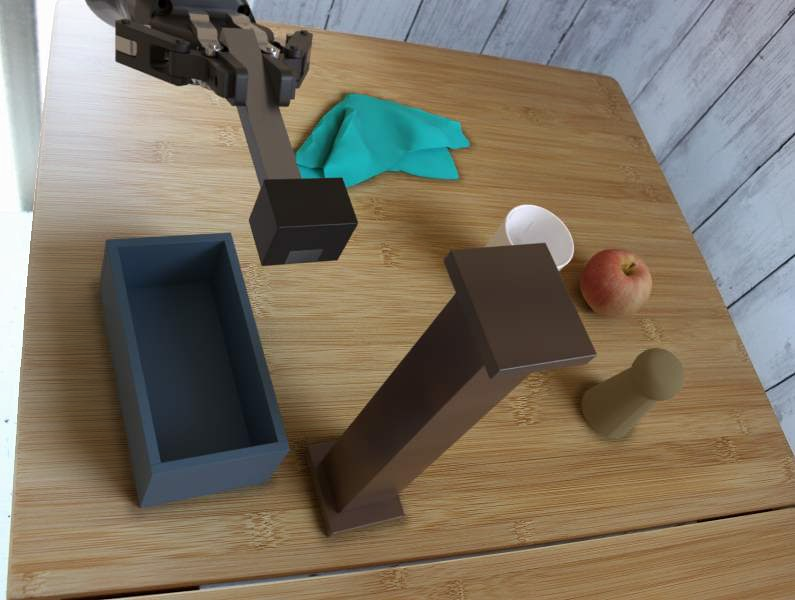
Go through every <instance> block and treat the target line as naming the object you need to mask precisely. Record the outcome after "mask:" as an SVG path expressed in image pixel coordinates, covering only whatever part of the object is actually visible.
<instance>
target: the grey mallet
mask: <svg viewBox="0 0 795 600" xmlns="http://www.w3.org/2000/svg"><path fill="white" fill-rule="evenodd" d="M219 42H220V44H221V45H222V46H223V52H229V53H231V54H232V55H233V56H234V57H235V58H236V59H237V60H238V61H239V62H241V63H242V64H243V65H244V66H245V67H246V68H247V71H248V87H247V100H246V105H245V106H235V107H236V110H237V114H238V117H239V120H240V124H241V128H242V131H243V134H244V137H245V140H246V141H245V142H246V144H247V147H248V150H249V154H250V158H251V161H252V165H253V167H254V168H253V169H254V171H255V174H256V178H257V181H258V184H259V192H258V194H257V196H256V199H255V202H254V205H253V207H252V210H251V212H250V215H249V218H248V224H249V227H250V231H251V234H252V237H253V241H254V244H255V248H256V251H257V255H258V259H259V261H260V266H261V267H271V266H283V265H297V264H311V263H323V262H336V261H338V260H340V259H339V258H340V257H341V255H342V253H343V252H344V249H346V247H347V245H348V243H349V241H350V239H351V237H352V236H353V234H354V232H355V231H356V229H357V227H358V225H359V221H358V217H357V214H356V212H355V209H354V206H353V204H352V200H351V197H350V195H349V192H348V190H347V188H346V186H345V183H344V180H343V178H342V177H338V178H302V177H301V174H300V171H299V167H298V164H297V161H296V158H295V152H294V149H293V146H292V142H291V139H290V137H289V134H288V131H287V130H288V129H287V128H286V125H285V122H284V118H283V115H282V113H281V109H280V107H279V106H278V103H277V100H276V97H275V94H274V91H273V88H272V85H271V81H270V78H269V75H268V72H267V69H266V66H265V63H264V60H263V57H262V53H261V50H260V47H259V44H258V41H257V38H256V35H255V31H254V30H253V29H237V28H222V31H221V35H220V38H219Z"/></svg>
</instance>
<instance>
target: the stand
mask: <svg viewBox="0 0 795 600" xmlns="http://www.w3.org/2000/svg"><path fill="white" fill-rule="evenodd" d="M443 264H444V267H445V269H446V272H447V274H448V277H449V280H450V282H451V284H452V287H453V290H454V292H455V293H454V294H453V296H452V297H451V298H450V300H448V301H447V303H446V304H445V306H444V307H443V308H442V310H440V312H439V313H438V314H437V316H435V318H434V319H433V321H432V322H431V323H430V324H429V325H428V327H427V328H426V329H425V330H424V331H423V333H422V335H420V336H419V338H418V339H417V341H416V342H415V343H414V344H413V345H412V347H411V348H410V349H409V351H408V352H407V353H406V354H405V355H404V357H403V358H402V359H401V360H400V362H399V363H398V364H397V366H396V367H395V368H394V369H393V371H392V372H391V373H390V375H388V377H386V379H385V381H384V382H383V383H382V384H381V386H379V388H378V389H377V391H376V392H375V393H374V394H373V395H372V397H371V398H370V400H369V401H367V403H366V404H365V406H363V408H362V409H361V410H360V411H359V413H358V414H357V416H356V417H354V419H353V421H352V422H351V423H350V424H349V426H348V427H347V428H346V429H345V430H344V432H343V433H342V434H341V436H340V437H339V438H338V439H335V440H330V441H329V440H328V441H324V442H318V443H313V444H307V445H306V446H305V447H304V449H303V452H304V456H305V459H306V463H307V467H308V471H309V474H310V477H311V482H312V485H313V488H314V492H315V495H316V499H317V502H318V507H319V510H320V514H321V516H322V521H323V525H324V528H325V531H326V535H327V538H329V539H330V538H332V537H337V536H343V535H345V534H346V535H347V534H349V533H354V532H358V531H362V530H366V529H371V528H374V527H378V526H383V525H386V524H391V523H395V522H399V521H401V520H402V519H403V518H405V517H406V514H405V511H404V508H403V505H402V502H401V499H400V496H399V494H401V492H403V491H404V490H405V489H407V487H408V486H410V485H411V483H413V482H414V481H415V480H416V479H417V478H418V477H419V476H421V474H422V473H424V472H425V471H426V470H427V469H428V468H429V467H430V466H431V465H432V464H434V463H435V462H436V461H437V460H438V459H439V458H440V457H441V456H442V455H443V454H444V453H446V452H447V451H448V450H449V449H450V448H451V447H452V446H454V444H456V443H457V442H458V441H459V440H460V439H461V438H462V437H463V436H464V435H465V434H466V433H468V432H469V431H470V430H472V428H473V427H474V426H475V425H476V424H477V423H478V422H480V421H481V420H482V419H483V418H484V417H485V416H486V415H487V414H488V413H489V412H491V411H492V410H493V409H494V408H495V407H496V406H497V405H499V403H500V402H501V401H503V400H504V399H505V398H506V397H507V396H509V394H511V392H512V391H514V390H515V389H516V388H517V387H518V386H519V385H520V384H522V382H524V381H525V380H526V379H527V378H528V377H529V376H531V374H535V373H541V372H545V371H552V370H560V369H565V368H570V367H577V366H584V365H588V364H589V363H590V362H591V361H593V360H594V359H595V358H596V357H597V356H598V354H597V351H596V349H595V347H594V344H593V342H592V340H591V338H590V336H589V333H588V331H587V329H586V327H585V325H584V323H583V320H582V319H581V316H580V314H579V311H578V310H577V308H576V305H575V303H574V301H573V299H572V296H571V294H570V293H569V291H568V288H567V286H566V283H565V281H564V280H563V276H562V275H561V273H560V271H558V268H557V266H556V264H555V262H554V260H553V258H552V255H551V253H550V251H549V249H548V247H547V245H546V243H534V244H521V245H508V246H494V247H485V246H484V247H483V246H481V247H469V248H467V247H466V248H456V249H450V250H449V251H448V253H447V254H446V256H444V258H443Z"/></svg>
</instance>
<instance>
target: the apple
mask: <svg viewBox="0 0 795 600" xmlns="http://www.w3.org/2000/svg"><path fill="white" fill-rule="evenodd" d="M579 282H580V283H579V285H580V286H579V287H580V292H581V295H582V297H583V298H584V300H585V303H587V305H588V306H589V308H591V310H592V311H593V312H594V313H596V314H597V315H599V316H601V317H604V318H608V319H613V320H615V319H616V320H617V319H618V320H619V319H620V320H621V319H624V318H625V319H626V318H628V317H631V316H633V315H635V314H636V313H637V312H639V311H640V310H642V308H643V307H644V306H645V305H646V304H647V302H648V300H649V298H650V296H651V293H652V289H653V279H652V275H651V271H650V270H649V268H648V266H647V265H646V263H645V262H644V261H643V259H642V258H641V257H640V256H639V255H637V254H636V253H634V252H633V251H631V250H629V249H628V250H627V249H622V248H608V249H603V250H601V251H598V252H596V253H595V254H593V256H591V258H590V259H589V260H588V261H587V263H586V264H585V266H584V267H583V269H582V272H581V274H580V280H579Z"/></svg>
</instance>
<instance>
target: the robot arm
mask: <svg viewBox="0 0 795 600" xmlns="http://www.w3.org/2000/svg"><path fill="white" fill-rule="evenodd" d="M84 1H85V4H86V6H87V7H88V8H89V10H90V11H91V12H92V13H93V14H94V15H95V16H96V17H97V18H98V19H99V20H101V21H102V22H103V23H105V24H107V25H109V26H110V27H112V28H114V33H115V34H114V46H115V49H114V54H115V55H114V58H115V59H114V61H115V63H118V64H120V65H123V66H125V67H127V68H131V69H133V70H135V71H138V72H140V73H143V74H145V75H148V76H150V77H152V78H155V79H158V80H160V81H163V82H165V83H168V84H170V85H173V86H176V87H183V86H189V85H191V86H199V87H201V88H203V89H206V90H208V91H213V92H214V94H215V95H216V96H217V97H220V98H222V99H225V100H226V102H228V103H229V105H230V106H231V107H236V106H245V105H246V100H247V87H248V71H247V68H246V67H245V66H244V65H243V64H242V63H241V62H239V61H238V60H237V59H236V58H235V57H234V56H233V55H232V54H231V53H229V52H223V46H222V45H221V44H220V42H219V38H220V35H221V31H222V28H237V29H253V30H254V31H255V35H256V38H257V41H258V44H259V47H260V50H261V53H262V57H263V60H264V63H265V66H266V69H267V72H268V75H269V78H270V81H271V85H272V88H273V91H274V94H275V97H276V100H277V103H278V106H279V108H289V107H290V105H291V101H292V100H293V101H294V100H295V98H296V91H297V90H296V89H300V88H301V87H302V84H303V82H304V80H305V78H306V77H307V74H308V73H309V71H310V64H311V55H312V47H313V39H314V38H313V37H314V34H313V33H312V32H309V31H308V30H305V29H300V30H296V31H294V33H291V32H287V33H286V35H285V39H284V38H277V37H275V34H274V32H273V30H272V29H271V28H269V27H268V26H265V25H263V24H258V23H257V21H256V19H255V16H254V13H253V11H252V8H251V7H250V4H249V3H248V1H247V0H84Z"/></svg>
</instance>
